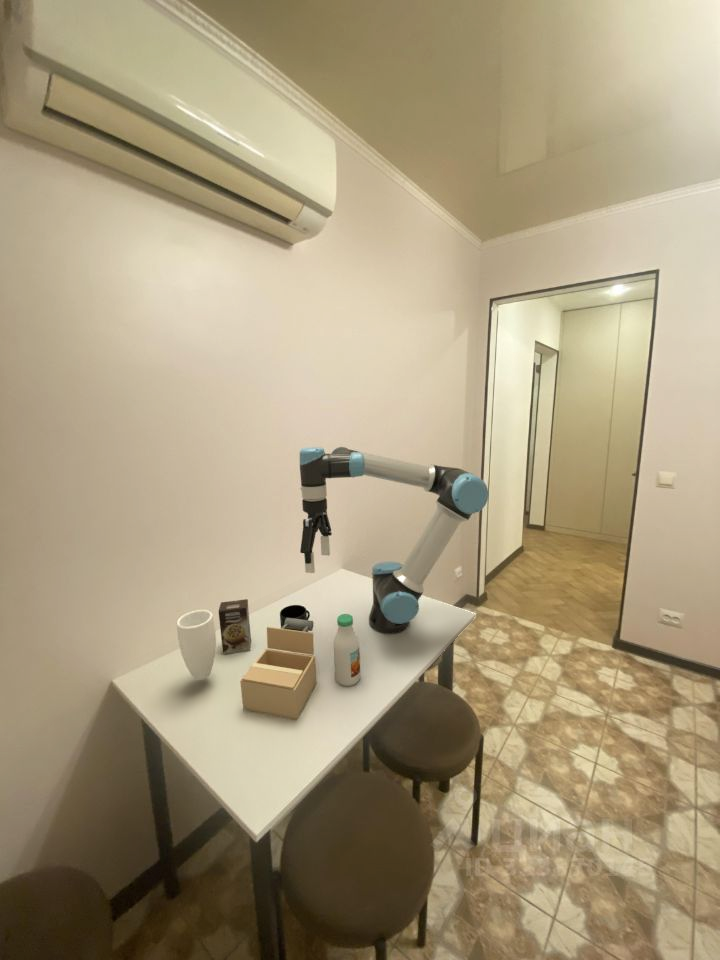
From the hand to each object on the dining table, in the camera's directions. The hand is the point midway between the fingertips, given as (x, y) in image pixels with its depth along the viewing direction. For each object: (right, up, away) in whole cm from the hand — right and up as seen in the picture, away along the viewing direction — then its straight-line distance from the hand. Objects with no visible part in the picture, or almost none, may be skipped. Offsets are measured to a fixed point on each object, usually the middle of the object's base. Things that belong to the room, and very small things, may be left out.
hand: (318, 563), depth 122 cm
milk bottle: (+10, -33, -6) cm, 35 cm away
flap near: (-8, -21, -8) cm, 24 cm away
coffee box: (-29, -31, +11) cm, 44 cm away
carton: (-9, -35, -12) cm, 38 cm away
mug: (-9, -29, +18) cm, 36 cm away
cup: (-34, -35, -6) cm, 49 cm away
